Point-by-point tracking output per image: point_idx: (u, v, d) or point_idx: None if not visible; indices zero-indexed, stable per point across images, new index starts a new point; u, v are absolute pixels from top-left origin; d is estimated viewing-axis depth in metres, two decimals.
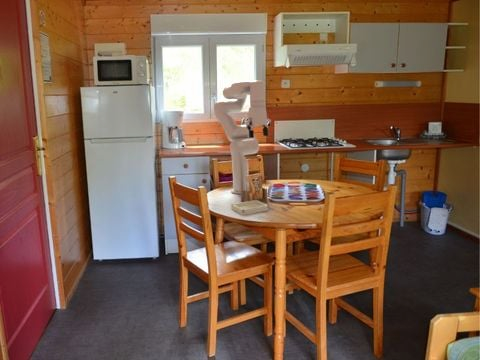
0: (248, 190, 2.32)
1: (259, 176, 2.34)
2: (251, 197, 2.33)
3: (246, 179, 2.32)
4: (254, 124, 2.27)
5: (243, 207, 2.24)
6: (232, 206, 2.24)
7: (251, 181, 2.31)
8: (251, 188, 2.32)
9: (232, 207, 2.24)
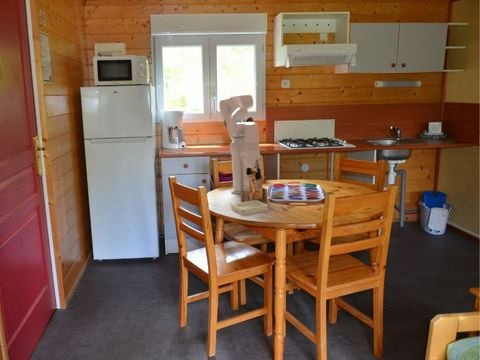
0: (248, 190, 2.32)
1: None
2: (251, 197, 2.33)
3: (246, 179, 2.32)
4: None
5: (243, 207, 2.24)
6: (232, 206, 2.24)
7: (251, 181, 2.31)
8: (251, 188, 2.32)
9: (232, 207, 2.24)
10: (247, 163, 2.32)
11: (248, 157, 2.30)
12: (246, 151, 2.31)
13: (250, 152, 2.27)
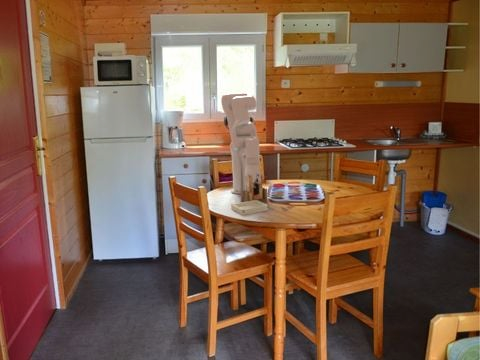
0: (248, 190, 2.33)
1: None
2: (251, 197, 2.33)
3: (246, 179, 2.32)
4: None
5: (243, 207, 2.24)
6: (232, 206, 2.24)
7: None
8: (251, 188, 2.32)
9: (232, 207, 2.24)
10: None
11: (248, 171, 2.32)
12: (246, 165, 2.33)
13: (250, 167, 2.29)
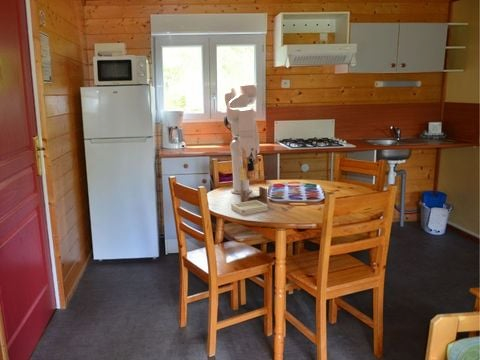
0: (241, 166, 2.16)
1: None
2: (245, 173, 2.16)
3: (239, 154, 2.16)
4: None
5: (243, 207, 2.24)
6: (232, 206, 2.24)
7: None
8: (245, 163, 2.15)
9: (232, 207, 2.24)
10: None
11: (242, 145, 2.14)
12: (240, 139, 2.16)
13: (244, 140, 2.12)
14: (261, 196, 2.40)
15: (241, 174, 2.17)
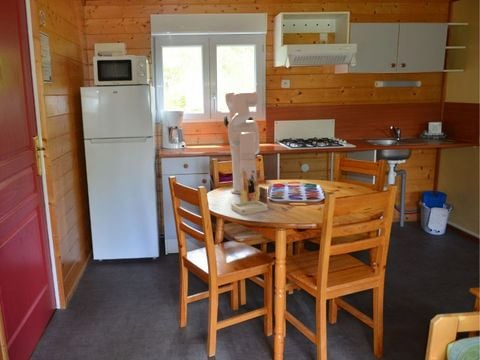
0: (242, 188, 2.18)
1: None
2: (246, 195, 2.18)
3: (240, 176, 2.18)
4: None
5: (243, 207, 2.24)
6: (232, 206, 2.24)
7: None
8: (246, 185, 2.17)
9: (232, 207, 2.24)
10: None
11: (243, 168, 2.17)
12: (241, 161, 2.18)
13: (245, 163, 2.14)
14: (261, 196, 2.40)
15: (242, 196, 2.19)
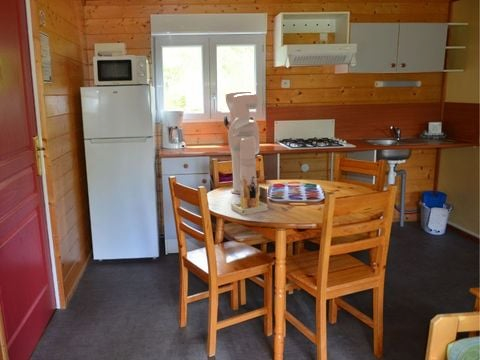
0: (243, 195, 2.19)
1: None
2: (246, 202, 2.19)
3: (241, 183, 2.19)
4: None
5: None
6: (232, 206, 2.24)
7: (246, 185, 2.17)
8: (246, 193, 2.18)
9: (232, 207, 2.24)
10: None
11: (243, 173, 2.17)
12: (241, 167, 2.19)
13: (245, 168, 2.15)
14: (261, 196, 2.40)
15: (242, 203, 2.21)
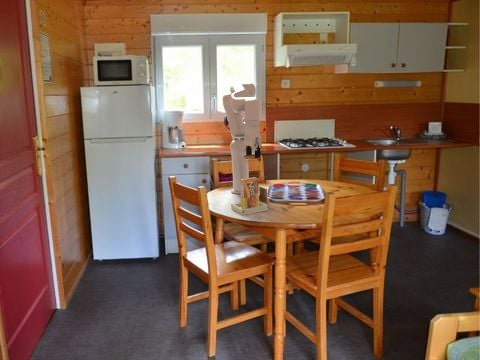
0: (243, 195, 2.19)
1: (255, 180, 2.19)
2: (246, 202, 2.19)
3: (241, 183, 2.19)
4: None
5: None
6: (232, 206, 2.24)
7: (246, 185, 2.17)
8: (246, 193, 2.18)
9: (232, 207, 2.24)
10: (247, 141, 2.21)
11: (248, 135, 2.19)
12: (246, 128, 2.20)
13: (250, 129, 2.16)
14: (261, 196, 2.40)
15: (242, 203, 2.21)
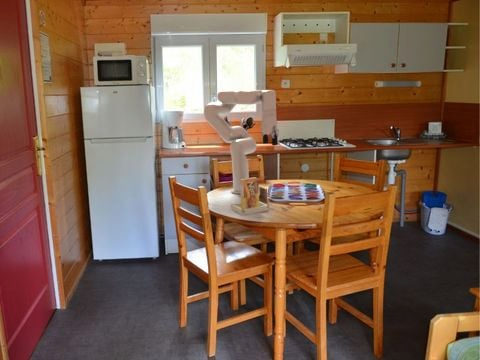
0: (243, 195, 2.19)
1: (255, 180, 2.19)
2: (246, 202, 2.19)
3: (241, 183, 2.19)
4: None
5: None
6: (232, 206, 2.24)
7: (246, 185, 2.17)
8: (246, 193, 2.18)
9: (232, 207, 2.24)
10: (264, 129, 2.37)
11: (265, 123, 2.35)
12: (263, 118, 2.36)
13: (267, 118, 2.32)
14: (261, 196, 2.40)
15: (242, 203, 2.21)
